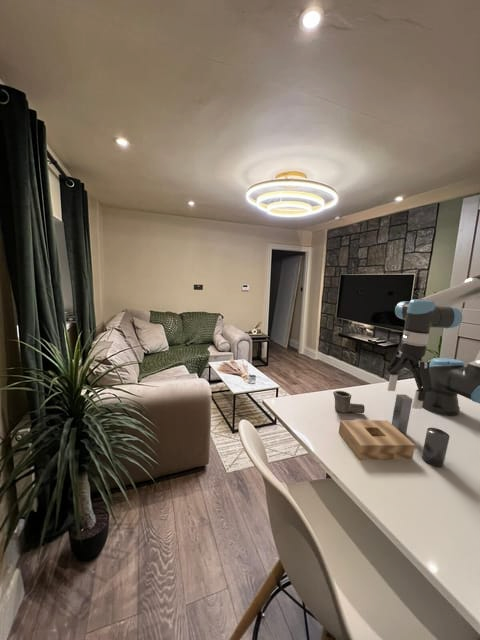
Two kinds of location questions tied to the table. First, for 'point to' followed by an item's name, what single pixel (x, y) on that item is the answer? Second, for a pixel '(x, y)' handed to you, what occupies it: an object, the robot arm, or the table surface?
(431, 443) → the round bit
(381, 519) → the table surface
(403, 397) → the square bit
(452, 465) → the table surface
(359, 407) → the pipe
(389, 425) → the block
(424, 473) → the table surface
